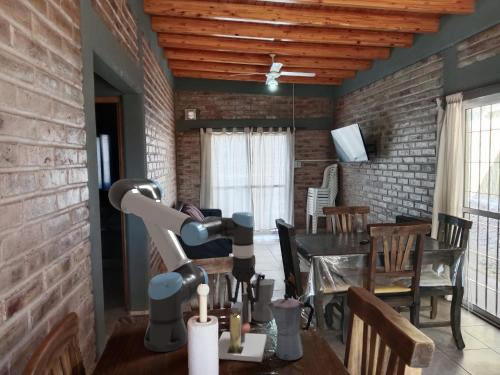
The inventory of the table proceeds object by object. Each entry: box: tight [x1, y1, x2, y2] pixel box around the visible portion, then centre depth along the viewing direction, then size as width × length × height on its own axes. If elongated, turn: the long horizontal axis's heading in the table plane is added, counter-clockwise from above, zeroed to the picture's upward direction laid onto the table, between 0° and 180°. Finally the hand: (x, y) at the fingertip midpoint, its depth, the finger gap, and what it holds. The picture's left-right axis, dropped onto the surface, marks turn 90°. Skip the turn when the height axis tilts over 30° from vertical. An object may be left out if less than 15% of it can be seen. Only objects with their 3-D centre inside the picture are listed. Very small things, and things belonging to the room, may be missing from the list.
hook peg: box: [229, 312, 242, 354], centre depth 118 cm, size 4×4×14 cm
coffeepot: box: [245, 274, 276, 323], centre depth 146 cm, size 15×9×18 cm, turn 129°
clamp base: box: [218, 331, 267, 363], centre depth 122 cm, size 16×16×2 cm
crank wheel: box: [231, 292, 251, 343], centre depth 123 cm, size 14×6×15 cm, turn 165°
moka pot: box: [267, 293, 315, 361], centre depth 117 cm, size 10×15×20 cm, turn 81°
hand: (243, 320), depth 128 cm, fingers open, 3 cm apart
